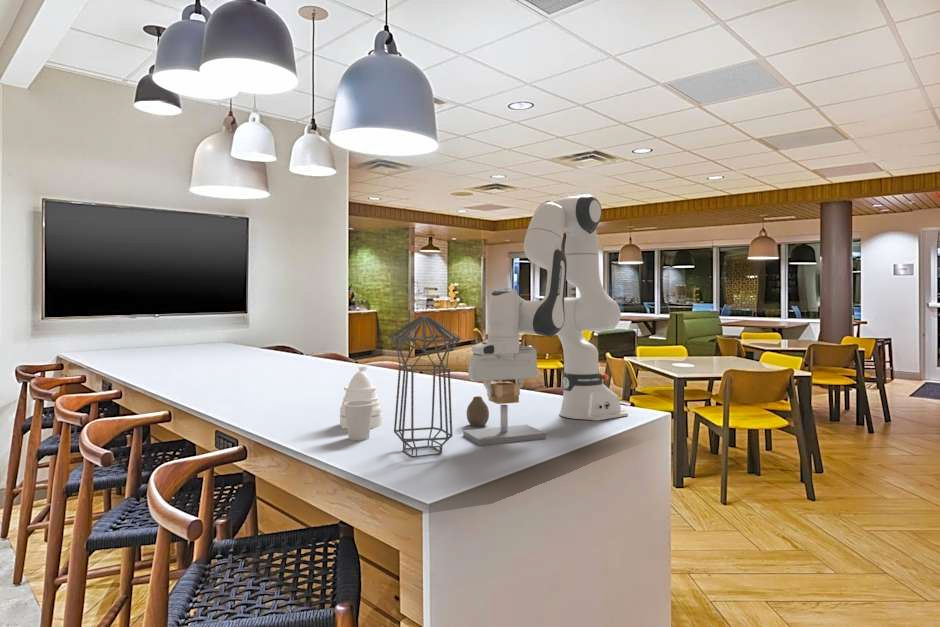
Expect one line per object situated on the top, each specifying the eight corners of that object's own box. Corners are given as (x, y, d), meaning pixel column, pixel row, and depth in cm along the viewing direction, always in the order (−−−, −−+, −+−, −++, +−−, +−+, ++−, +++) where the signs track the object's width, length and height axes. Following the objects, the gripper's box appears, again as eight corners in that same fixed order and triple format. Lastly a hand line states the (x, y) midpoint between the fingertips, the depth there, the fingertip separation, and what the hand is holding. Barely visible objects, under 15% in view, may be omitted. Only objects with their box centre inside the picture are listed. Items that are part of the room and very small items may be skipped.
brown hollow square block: (518, 402, 165) (518, 384, 165) (497, 404, 163) (497, 385, 163) (508, 398, 171) (508, 381, 171) (488, 400, 169) (488, 382, 169)
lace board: (526, 429, 177) (526, 399, 176) (545, 438, 165) (545, 406, 165) (463, 435, 169) (463, 404, 169) (479, 445, 158) (479, 411, 158)
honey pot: (348, 420, 192) (347, 364, 191) (387, 421, 190) (386, 364, 189) (333, 429, 179) (333, 369, 179) (375, 430, 177) (374, 369, 177)
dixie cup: (347, 442, 162) (346, 406, 161) (341, 436, 169) (340, 401, 169) (377, 439, 165) (376, 403, 165) (369, 433, 173) (369, 399, 172)
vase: (462, 426, 181) (462, 397, 181) (473, 422, 187) (472, 394, 187) (482, 428, 178) (482, 399, 178) (492, 424, 184) (492, 396, 184)
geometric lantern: (386, 448, 156) (387, 315, 156) (442, 443, 162) (444, 315, 162) (401, 462, 142) (402, 316, 141) (462, 457, 147) (464, 316, 147)
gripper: (531, 344, 173) (531, 392, 174) (466, 346, 166) (466, 396, 166) (541, 346, 167) (541, 395, 168) (474, 348, 160) (474, 399, 160)
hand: (503, 395), depth 167 cm, fingers closed on brown hollow square block, 6 cm apart
